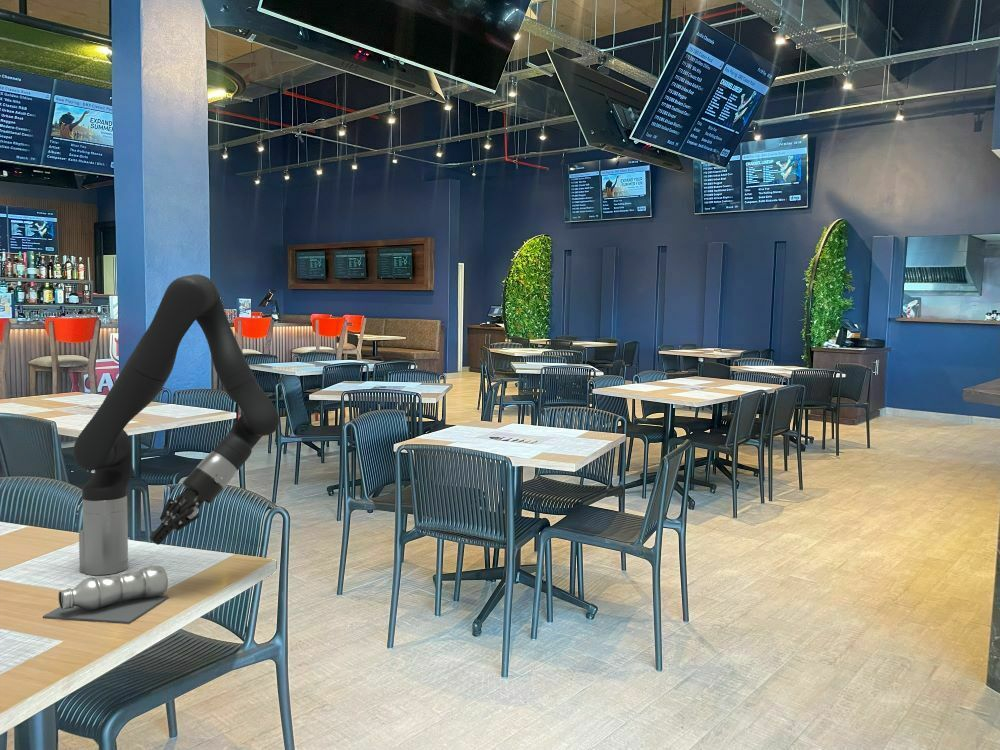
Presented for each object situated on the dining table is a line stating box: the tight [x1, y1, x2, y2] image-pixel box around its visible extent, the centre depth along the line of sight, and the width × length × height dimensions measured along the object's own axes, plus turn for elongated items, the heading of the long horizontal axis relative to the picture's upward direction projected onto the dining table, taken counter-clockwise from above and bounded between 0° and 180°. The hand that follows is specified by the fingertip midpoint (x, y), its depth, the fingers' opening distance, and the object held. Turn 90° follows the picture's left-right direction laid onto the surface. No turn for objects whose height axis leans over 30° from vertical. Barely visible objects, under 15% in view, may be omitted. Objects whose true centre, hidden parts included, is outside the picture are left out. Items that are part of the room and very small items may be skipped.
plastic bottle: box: [57, 565, 169, 610], centre depth 157 cm, size 6×7×20 cm
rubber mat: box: [42, 595, 169, 625], centre depth 156 cm, size 18×14×1 cm
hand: (153, 541), depth 162 cm, fingers closed
